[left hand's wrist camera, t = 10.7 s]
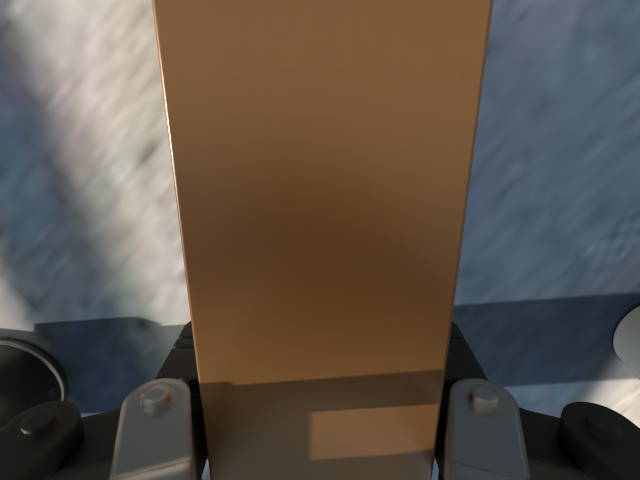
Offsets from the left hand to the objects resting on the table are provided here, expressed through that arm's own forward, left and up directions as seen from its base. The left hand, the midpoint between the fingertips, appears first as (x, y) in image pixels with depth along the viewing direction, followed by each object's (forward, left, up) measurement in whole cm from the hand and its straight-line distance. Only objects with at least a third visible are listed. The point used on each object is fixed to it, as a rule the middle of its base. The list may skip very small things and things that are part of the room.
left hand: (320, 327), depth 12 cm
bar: (-7, +22, -2) cm, 23 cm away
